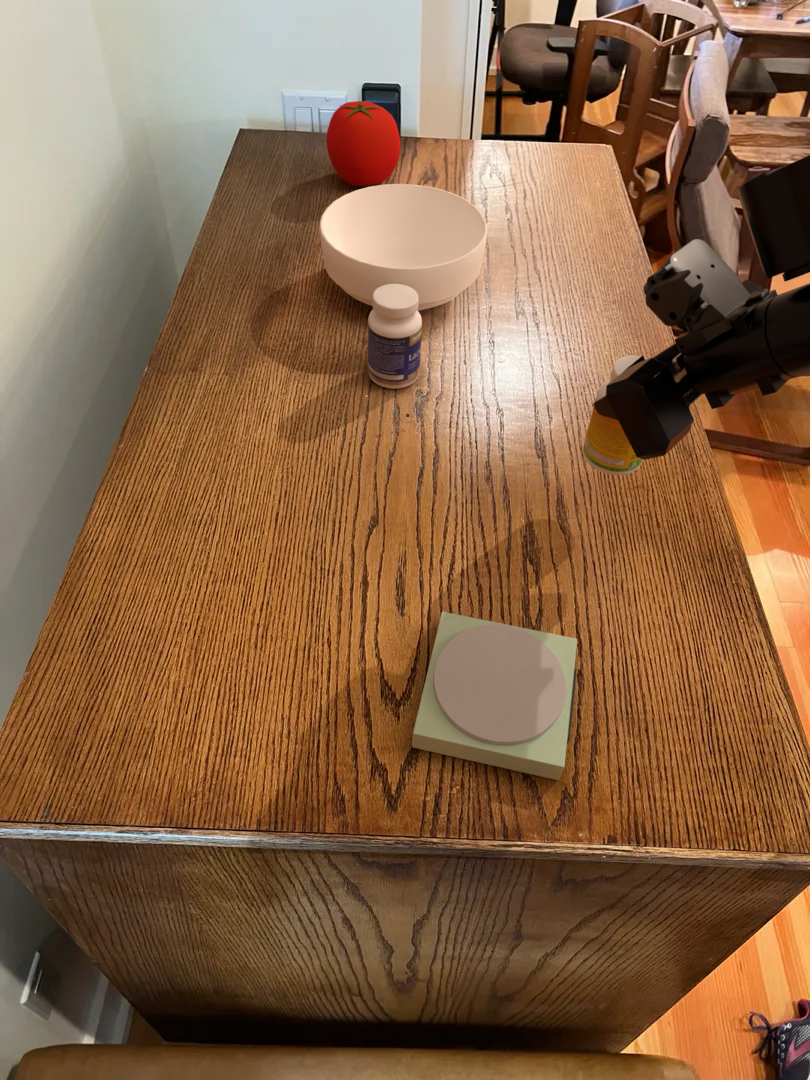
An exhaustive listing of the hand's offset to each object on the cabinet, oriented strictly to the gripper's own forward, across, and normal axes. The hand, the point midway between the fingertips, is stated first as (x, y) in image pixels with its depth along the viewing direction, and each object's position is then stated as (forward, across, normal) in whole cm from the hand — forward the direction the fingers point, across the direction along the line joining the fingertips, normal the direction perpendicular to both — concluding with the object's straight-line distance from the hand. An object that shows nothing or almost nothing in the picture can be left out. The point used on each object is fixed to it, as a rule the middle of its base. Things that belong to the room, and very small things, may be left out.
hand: (615, 392), depth 65 cm
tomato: (+51, -29, -35) cm, 68 cm away
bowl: (+34, -13, -18) cm, 41 cm away
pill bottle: (+27, 0, -10) cm, 28 cm away
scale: (+3, +24, +14) cm, 28 cm away
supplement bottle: (+4, 0, +6) cm, 7 cm away
